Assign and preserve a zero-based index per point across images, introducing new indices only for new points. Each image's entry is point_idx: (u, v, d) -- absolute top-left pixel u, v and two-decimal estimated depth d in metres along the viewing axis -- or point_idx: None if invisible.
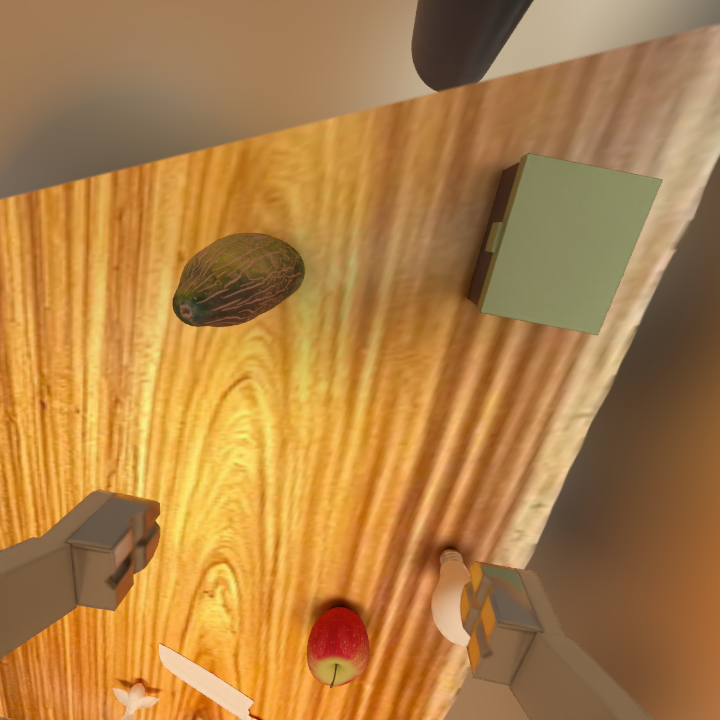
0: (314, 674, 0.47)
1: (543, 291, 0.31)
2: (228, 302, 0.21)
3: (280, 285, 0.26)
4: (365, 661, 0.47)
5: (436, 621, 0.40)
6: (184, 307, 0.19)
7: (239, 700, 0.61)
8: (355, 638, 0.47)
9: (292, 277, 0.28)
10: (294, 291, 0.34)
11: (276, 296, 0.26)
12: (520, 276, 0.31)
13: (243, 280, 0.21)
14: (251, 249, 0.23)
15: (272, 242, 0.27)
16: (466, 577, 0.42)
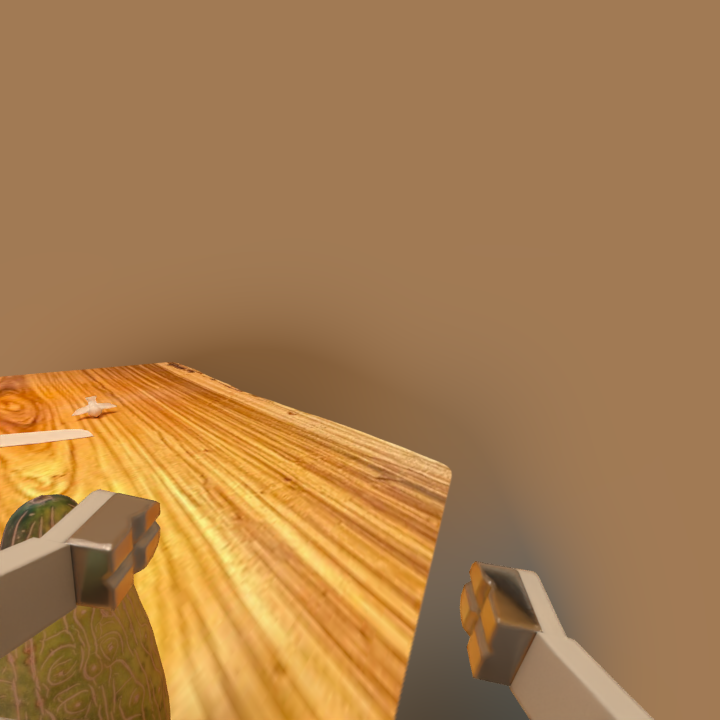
0: None
1: None
2: None
3: None
4: None
5: None
6: (44, 499, 0.15)
7: None
8: None
9: None
10: None
11: None
12: None
13: None
14: (38, 685, 0.13)
15: None
16: None
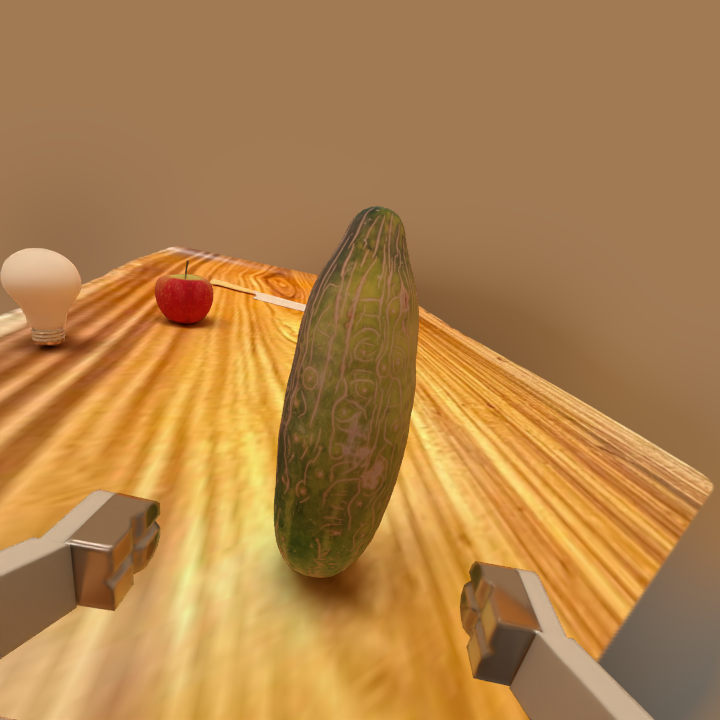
0: (204, 278, 0.60)
1: None
2: (342, 242, 0.15)
3: (293, 367, 0.16)
4: (158, 280, 0.55)
5: (76, 269, 0.41)
6: None
7: (264, 298, 0.85)
8: (168, 292, 0.54)
9: (281, 418, 0.17)
10: None
11: (294, 355, 0.17)
12: None
13: (335, 274, 0.15)
14: (346, 351, 0.14)
15: (328, 440, 0.15)
16: (29, 301, 0.38)
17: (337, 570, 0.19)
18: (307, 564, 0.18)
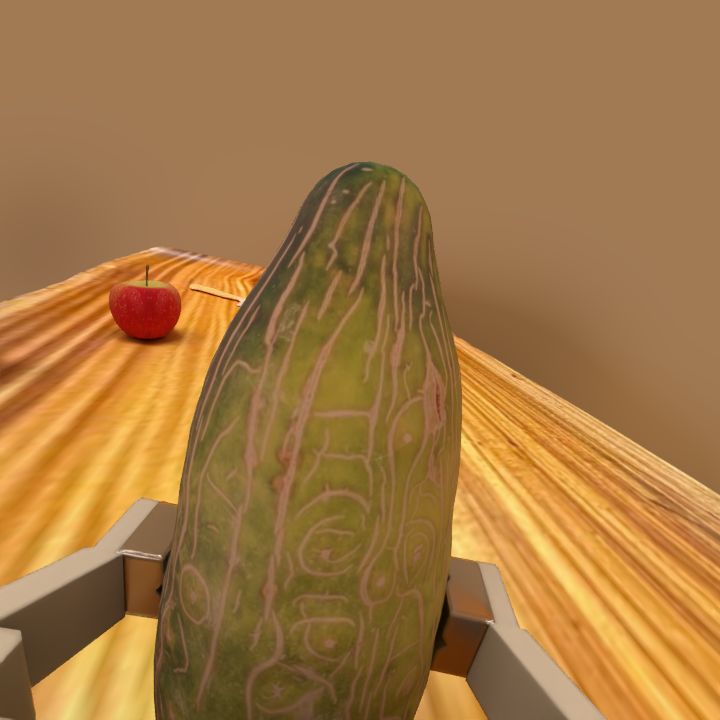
0: (170, 285, 0.50)
1: None
2: (280, 249, 0.06)
3: None
4: (112, 288, 0.46)
5: None
6: None
7: None
8: (123, 302, 0.45)
9: (156, 635, 0.08)
10: None
11: None
12: None
13: (253, 335, 0.05)
14: (279, 551, 0.05)
15: None
16: None
17: None
18: None
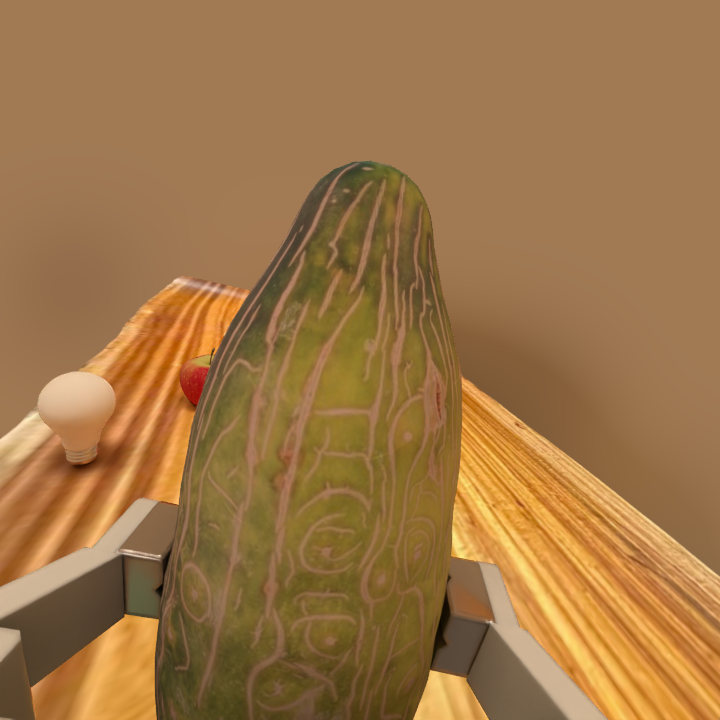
0: None
1: None
2: (281, 248, 0.06)
3: None
4: (183, 368, 0.55)
5: (111, 388, 0.41)
6: None
7: None
8: (194, 381, 0.54)
9: (158, 634, 0.08)
10: None
11: None
12: None
13: (253, 333, 0.05)
14: (279, 549, 0.05)
15: None
16: (66, 430, 0.38)
17: None
18: None
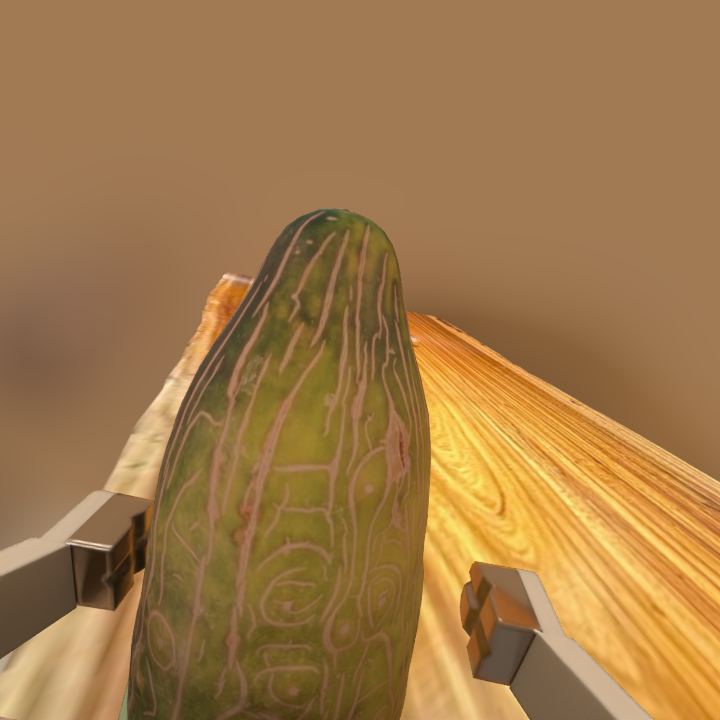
0: None
1: None
2: (247, 295, 0.06)
3: None
4: None
5: None
6: None
7: None
8: None
9: None
10: None
11: None
12: None
13: (217, 385, 0.06)
14: (240, 602, 0.05)
15: None
16: None
17: None
18: None
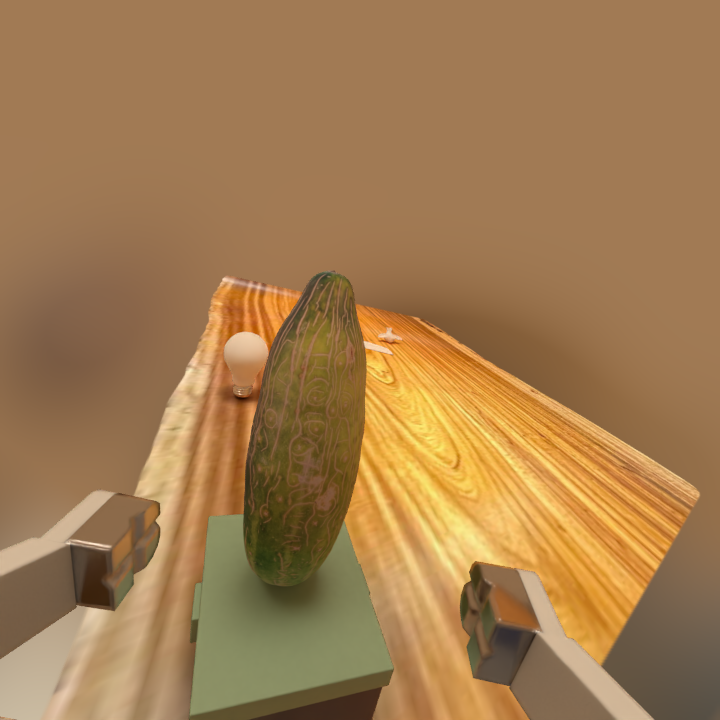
0: None
1: None
2: (299, 302, 0.18)
3: (257, 406, 0.19)
4: None
5: (265, 344, 0.59)
6: (336, 273, 0.18)
7: None
8: None
9: (248, 450, 0.19)
10: None
11: None
12: None
13: (292, 331, 0.17)
14: (300, 397, 0.17)
15: (286, 470, 0.18)
16: (244, 370, 0.56)
17: (299, 579, 0.22)
18: (272, 575, 0.21)
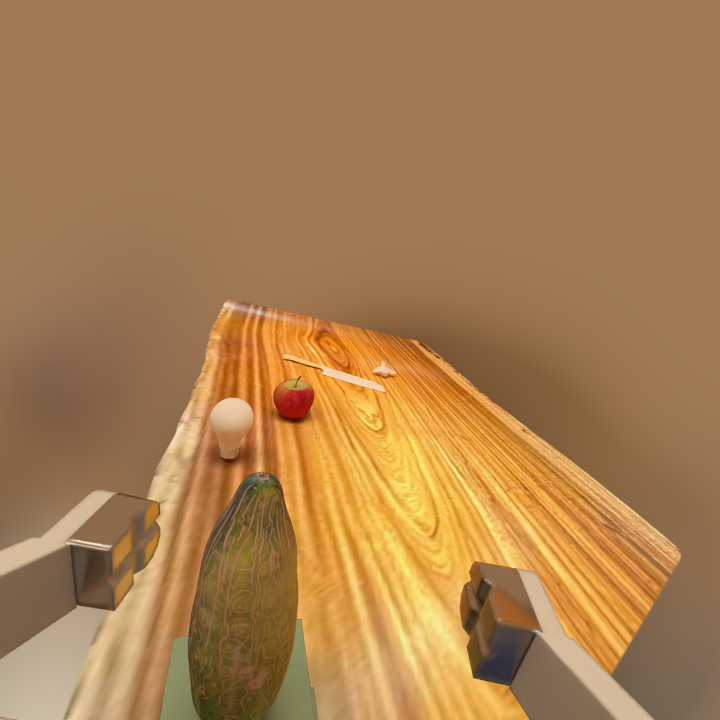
0: (306, 382, 0.79)
1: None
2: (229, 507, 0.20)
3: None
4: (278, 390, 0.75)
5: None
6: (264, 478, 0.20)
7: (330, 373, 1.04)
8: (287, 400, 0.74)
9: (189, 630, 0.21)
10: None
11: None
12: None
13: (220, 542, 0.19)
14: (226, 606, 0.19)
15: (217, 664, 0.19)
16: (229, 437, 0.58)
17: None
18: None
